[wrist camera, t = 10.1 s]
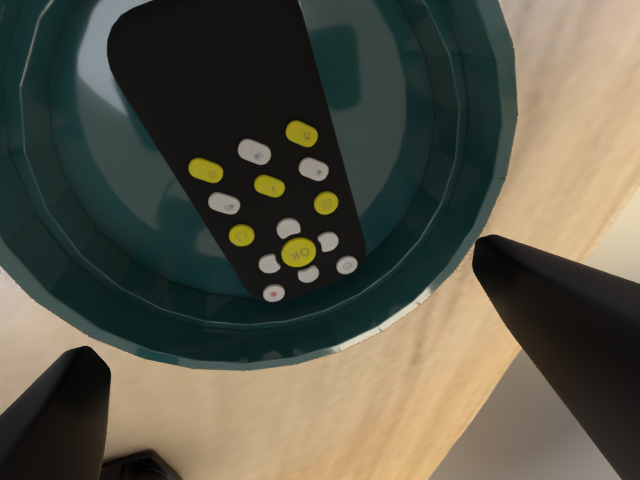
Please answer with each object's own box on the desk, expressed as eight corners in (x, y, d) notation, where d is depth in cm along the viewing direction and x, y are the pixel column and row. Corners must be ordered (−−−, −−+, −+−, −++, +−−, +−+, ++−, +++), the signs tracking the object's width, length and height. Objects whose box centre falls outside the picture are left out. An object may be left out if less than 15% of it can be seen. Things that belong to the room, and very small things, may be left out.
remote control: (279, -45, 11) (288, -54, 9) (363, 250, 18) (376, 274, 17) (95, 24, 11) (72, 27, 9) (256, 291, 18) (259, 319, 17)
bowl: (437, 257, 21) (481, 310, 17) (155, 335, 19) (138, 411, 16) (465, -163, 11) (588, -250, 7) (-129, -67, 9) (-364, -113, 5)
